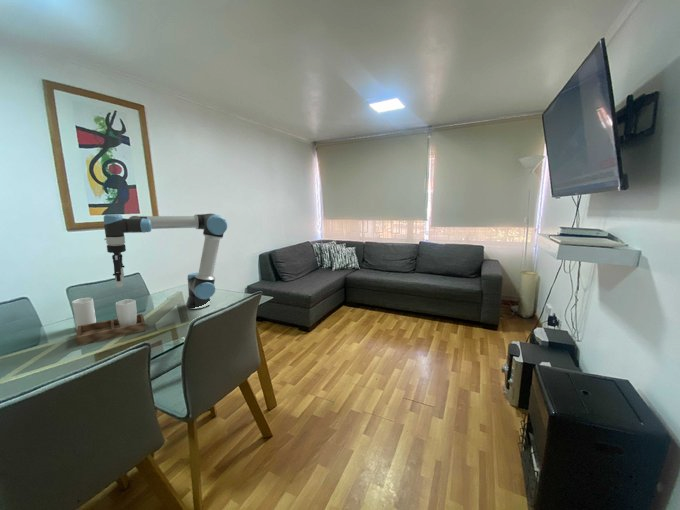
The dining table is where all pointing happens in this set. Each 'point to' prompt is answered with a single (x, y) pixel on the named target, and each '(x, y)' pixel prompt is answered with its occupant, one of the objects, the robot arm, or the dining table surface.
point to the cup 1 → (84, 311)
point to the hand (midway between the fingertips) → (120, 283)
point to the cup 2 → (126, 312)
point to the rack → (107, 330)
